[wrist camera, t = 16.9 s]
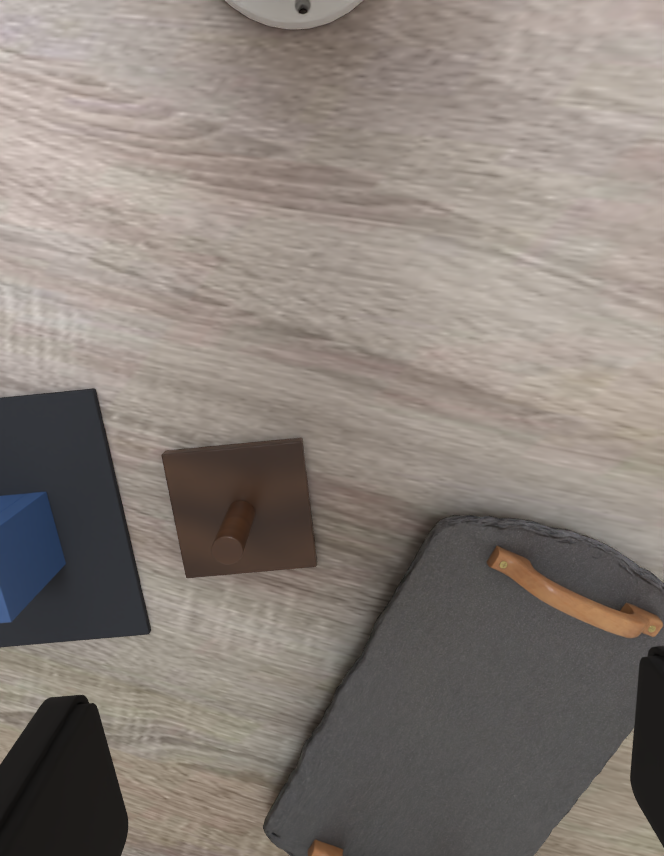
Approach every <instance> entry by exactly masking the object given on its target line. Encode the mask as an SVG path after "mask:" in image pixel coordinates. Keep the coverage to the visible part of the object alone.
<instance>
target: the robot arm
mask: <svg viewBox="0 0 664 856" xmlns="http://www.w3.org/2000/svg"><path fill="white" fill-rule="evenodd" d="M225 1H226V2H227V3H228V4H229V5H230V6H231V7H233V8H234V9H236V10H237V11H239V12H240V13H242V14H243V15H245V16H246V17H248V18H250V19H252V20H255V21H257V22H260V23H262V24H265V25H267V26H271V27H277V28H283V29H289V30H292V29H309V28H313V27H317V26H320V25H324V24H327V23H330V22H332V21H334V20H336V19H338V18H340V17H341V16H343V15H345V14H347V13H349V12H350V11H351V10H352V9H354V8H355V7H356V6H357V5H358V4H360V3H361V2H362V1H363V0H225ZM302 8H305V9H306V10H307V11H308V12H307V13H305V14H300V13H299V11H300V9H302ZM630 781H631V786H632V790H633V793H634V796H635V798H636V800H637V802H638V804H639V806H640V808H641V810H642V811H643V813H644V815H645V816H646V818H647V820H648V822H649V823H650V825H651V827H652V828H653V830H654V832H655V833H656V835H657V837H658V838H659V840H660V842H661V844H662V845H663V847H664V646H655V647H651V648H650V650H649V651H648V656H647V657H642V658H641V660H640V663H639V675H638V687H637V700H636V712H635V724H634V737H633V749H632V762H631V774H630ZM127 833H128V816H127V812H126V809H125V805H124V801H123V798H122V794H121V791H120V787H119V783H118V780H117V776H116V773H115V769H114V765H113V762H112V758H111V755H110V751H109V747H108V744H107V740H106V737H105V733H104V729H103V726H102V722H101V719H100V715H99V711H98V708H97V706H96V705H95V704H94V703H89V702H88V699H87V698H86V697H85V696H84V695H74V696H62V697H51V698H48V699H46V700H45V701H44V702H43V703H42V705H41V706H40V707H39V709H38V710H37V712H36V713H35V715H34V716H33V718H32V719H31V721H30V722H29V723H28V725H27V726H26V728H25V729H24V731H23V732H22V734H21V735H20V737H19V738H18V740H17V741H16V743H15V744H14V745H13V747H12V748H11V750H10V751H9V753H8V754H7V756H6V757H5V759H4V760H3V762H2V763H1V765H0V856H121V854H122V851H123V848H124V845H125V842H126V838H127Z"/></svg>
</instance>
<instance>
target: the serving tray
mask: <svg viewBox="0 0 664 856" xmlns="http://www.w3.org/2000/svg"><path fill="white" fill-rule="evenodd" d="M655 646H664V583H663V582H661V581H660V580H659V579H658V578H657V577H656V576H655V575H654V574H652V573H651V572H650V571H648V570H645V569H642V568H640V567H639V566H638V565H636V564H635V563H634V562H633V561H631V560H630V559H628V558H627V557H625V556H624V555H622V554H621V553H619V552H618V551H616V550H614V549H613V548H611V547H609V546H608V545H606V544H604V543H602V542H600V541H597V540H595V539H592V538H589V537H587V536H583V535H580V534H577V533H575V532H573V531H571V530H566V529H558V528H553V527H548V526H545V525H542V524H539V523H536V522H533V521H530V520H523V519H516V518H496V517H492V516H485V517H477V516H472V515H467V516H460V515H453V516H450V517H449V518H444V519H442V520H440V521H439V522H437V524H436V525H435V526H434V527H433V529H432V530H431V531H430V532H429V534H428V536H427V537H426V539H425V541H424V543H423V544H422V546H421V547H420V549H419V551H418V553H417V555H416V557H415V559H414V560H413V562H412V564H411V565H410V567H409V569H408V571H407V572H406V574H405V576H404V577H403V579H402V581H401V583H400V584H399V586H398V587H397V589H396V591H395V593H394V595H393V597H392V598H391V600H390V601H389V603H388V604H387V606H386V607H385V609H384V611H383V612H382V613H381V615H380V616H379V617H378V618H377V620H376V622H375V624H374V627H373V630H372V632H371V635H370V637H369V639H368V641H367V643H366V645H365V648H364V650H363V652H362V655H361V656H360V657H359V658H358V659H357V661H356V662H355V663H354V665H353V666H352V667H351V668H350V669H349V671H348V672H347V674H346V675H345V677H344V679H343V681H342V683H341V684H340V685H339V686H338V687H337V689H336V692H335V694H334V698H333V700H332V702H331V704H330V706H329V707H328V708H327V709H326V712H325V714H324V717H323V719H322V721H321V722H320V724H319V725H318V727H317V728H316V729H315V730H314V731H313V733H312V736H311V737H310V738H309V739H307V740H306V742H305V744H304V745H303V748H302V751H301V756H300V759H299V761H298V763H297V768H296V769H294V770H293V771H292V772H291V774H290V775H289V779H288V782H287V783H286V784H285V785H284V787H283V788H282V790H281V792H280V793H279V795H278V797H277V799H276V801H275V802H274V804H273V805H272V807H271V809H270V811H269V813H268V814H267V816H266V818H265V821H264V825H263V829H264V832H265V833H266V835H267V836H268V838H269V839H270V840H271V842H273V843H274V844H275V845H276V846H277V847H278V848H280V849H283V850H284V851H285V852H287V853H288V854H289V855H290V856H534V855H535V853H536V852H537V851H538V850H539V848H540V847H541V846H542V844H543V843H544V842H545V840H546V839H547V838H548V836H549V835H550V833H551V831H552V829H553V828H554V827H556V826H557V825H558V823H559V822H560V821H561V819H562V818H563V817H564V816H565V815H566V814H567V813H568V812H569V811H570V810H571V808H572V807H573V805H574V804H575V803H576V801H577V800H578V798H579V797H580V796H581V794H582V793H583V792H584V791H585V790H586V789H587V788H588V787H589V785H590V784H591V782H592V780H593V779H594V778H595V777H596V776H597V775H598V774H599V773H600V772H601V770H602V769H603V767H604V766H605V764H606V763H607V761H608V760H609V759H610V758H611V757H612V755H613V754H614V753H615V752H616V751H617V749H618V748H619V746H620V745H621V743H622V741H623V740H624V739H625V738H626V737H627V736H628V735H629V734H630V732H631V731H632V730H633V728H634V724H635V712H636V700H637V687H638V675H639V663H640V660H641V658H642V657H647V656H648V651H649V650H650V648H651V647H655Z"/></svg>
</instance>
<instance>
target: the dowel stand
mask: <svg viewBox="0 0 664 856" xmlns="http://www.w3.org/2000/svg"><path fill="white" fill-rule="evenodd" d="M162 460H163V465H164V470H165V475H166V480H167V485H168V490H169V495H170V500H171V505H172V510H173V515H174V520H175V524H176V529H177V534H178V539H179V544H180V549H181V554H182V559H183V564H184V569H185V574H186V578H195V577H206V576H217V575H228V574H239V573H250V572H262V571H273V570H284V569H295V568H306V567H316V566H317V556H316V547H315V539H314V531H313V522H312V514H311V506H310V497H309V489H308V481H307V472H306V464H305V456H304V447H303V439H302V438H293V439H283V440H272V441H262V442H252V443H241V444H231V445H220V446H210V447H199V448H189V449H178V450H168V451H165V452H164V453H163V454H162Z"/></svg>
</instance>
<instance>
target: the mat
mask: <svg viewBox="0 0 664 856" xmlns="http://www.w3.org/2000/svg"><path fill="white" fill-rule="evenodd" d="M36 492H46V493H47V496H48V500H49V503H50V507H51V511H52V514H53V518H54V522H55V525H56V529H57V533H58V536H59V540H60V544H61V547H62V551H63V555H64V558H65V562H66V564H65V565H64V566H63V567H62V569H61V570H60V571H59V572H58V573H57V574H56V575H55V576H54V577H53V578H52V579H51V580H50V581H49V582H48V584H47V585H46V586H45V587H44V588H43V589H42V590H41V591H40V592H39V593H38V594H37V595H36V596H35V597H34V599H33V600H32V601H31V602H30V603H29V604H28V605H27V606H26V607H25V608H24V609H23V610H22V611H21V612H20V614H19V615H18V616H17V617H16V618H15V619H14V620H13V621H12V622H8V623H0V647H8V646H20V645H31V644H43V643H54V642H66V641H77V640H89V639H100V638H112V637H123V636H135V635H146V634H149V633H150V631H151V629H150V624H149V620H148V616H147V611H146V607H145V603H144V598H143V594H142V590H141V585H140V581H139V577H138V572H137V568H136V564H135V559H134V555H133V551H132V546H131V542H130V538H129V533H128V529H127V524H126V520H125V516H124V511H123V507H122V503H121V498H120V494H119V490H118V485H117V481H116V477H115V472H114V468H113V464H112V459H111V455H110V451H109V446H108V442H107V438H106V433H105V429H104V425H103V420H102V416H101V412H100V407H99V403H98V399H97V394H96V390H95V389H85V390H74V391H64V392H54V393H44V394H34V395H24V396H14V397H3V398H0V496H6V495H16V494H28V493H36Z"/></svg>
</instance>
